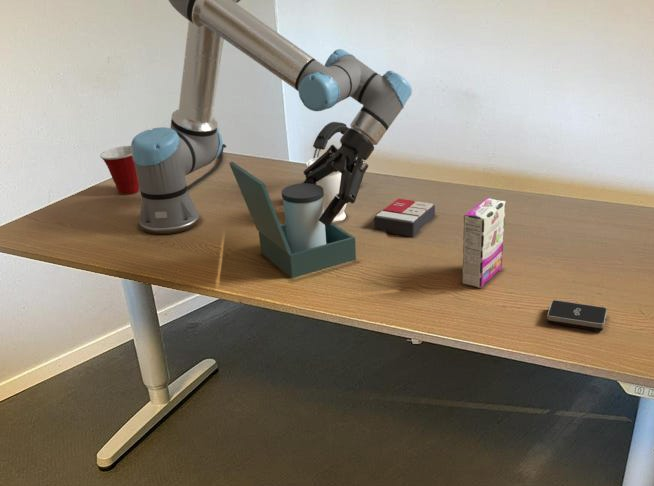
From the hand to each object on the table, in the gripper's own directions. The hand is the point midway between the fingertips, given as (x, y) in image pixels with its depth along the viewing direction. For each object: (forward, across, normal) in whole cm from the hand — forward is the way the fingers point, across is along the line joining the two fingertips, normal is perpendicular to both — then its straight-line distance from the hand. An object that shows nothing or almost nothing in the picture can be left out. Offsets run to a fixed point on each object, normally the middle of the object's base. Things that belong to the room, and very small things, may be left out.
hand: (308, 214), depth 166 cm
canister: (+8, 0, -6) cm, 10 cm away
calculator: (-13, +4, -29) cm, 32 cm away
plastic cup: (+24, +71, +8) cm, 76 cm away
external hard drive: (-13, -56, -29) cm, 65 cm away
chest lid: (+5, 0, +11) cm, 12 cm away
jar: (-3, +19, -19) cm, 27 cm away
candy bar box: (-11, -31, -27) cm, 42 cm away
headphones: (-10, +33, -26) cm, 43 cm away
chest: (+8, 0, -7) cm, 11 cm away
